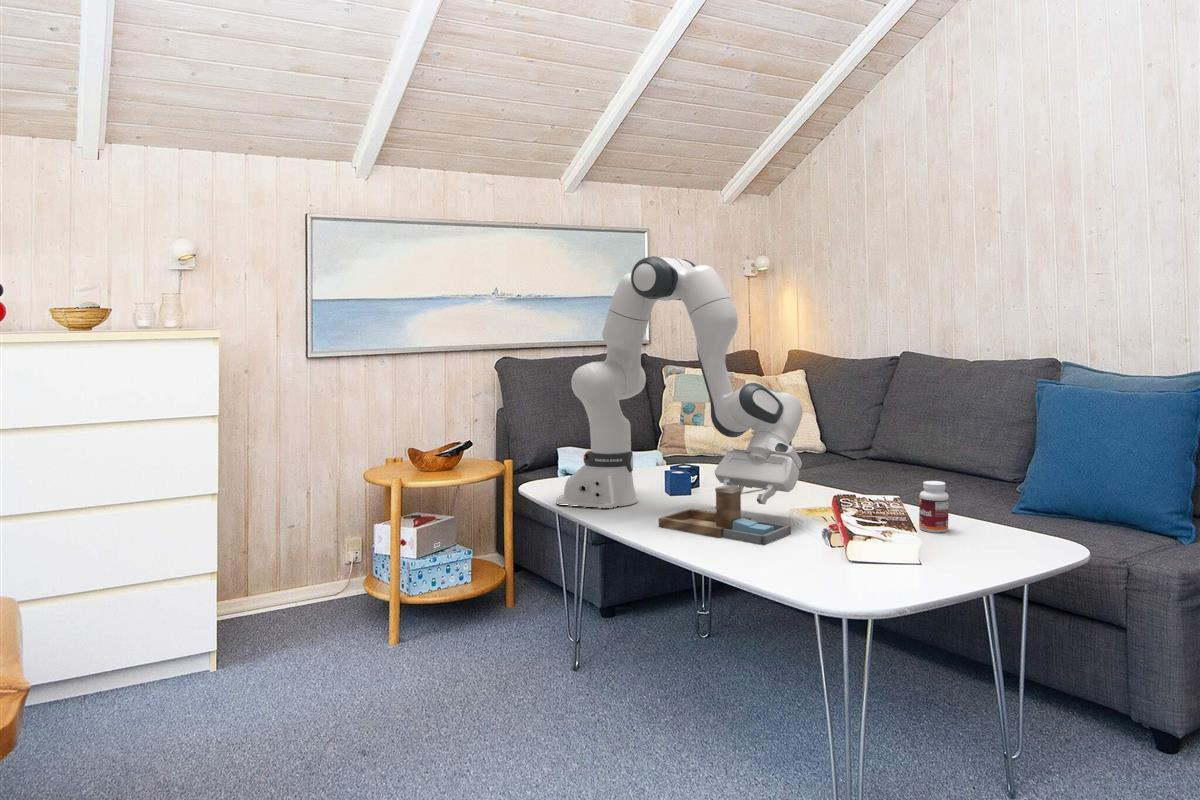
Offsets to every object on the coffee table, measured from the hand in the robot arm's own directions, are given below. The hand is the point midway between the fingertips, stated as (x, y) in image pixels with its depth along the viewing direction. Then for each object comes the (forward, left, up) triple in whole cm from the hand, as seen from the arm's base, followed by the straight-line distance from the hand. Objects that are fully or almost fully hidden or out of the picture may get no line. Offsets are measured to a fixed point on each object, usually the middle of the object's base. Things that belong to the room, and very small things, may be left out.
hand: (742, 499), depth 182 cm
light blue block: (+4, -7, -7) cm, 11 cm away
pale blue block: (0, -5, -7) cm, 9 cm away
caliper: (+4, +51, -8) cm, 52 cm away
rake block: (-3, -3, -6) cm, 8 cm away
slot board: (-9, 0, -8) cm, 12 cm away
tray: (+3, -7, -8) cm, 11 cm away
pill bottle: (+43, +8, -8) cm, 44 cm away
